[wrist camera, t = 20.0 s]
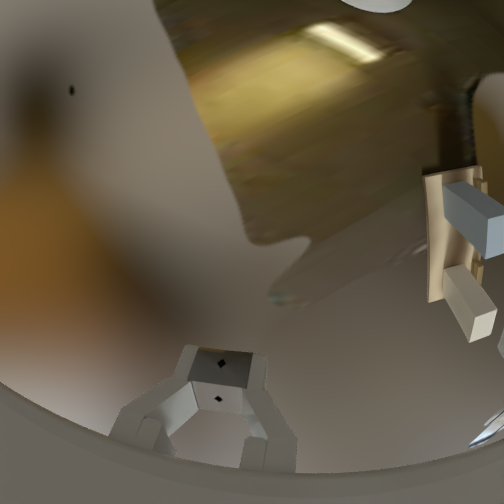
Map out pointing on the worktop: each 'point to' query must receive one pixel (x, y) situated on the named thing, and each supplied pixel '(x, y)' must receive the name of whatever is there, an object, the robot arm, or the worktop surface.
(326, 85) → the worktop surface
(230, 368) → the robot arm
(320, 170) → the worktop surface
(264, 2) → the worktop surface
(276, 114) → the worktop surface
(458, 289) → the ivory key
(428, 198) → the switch base
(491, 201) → the slate blue key
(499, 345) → the skincare box
